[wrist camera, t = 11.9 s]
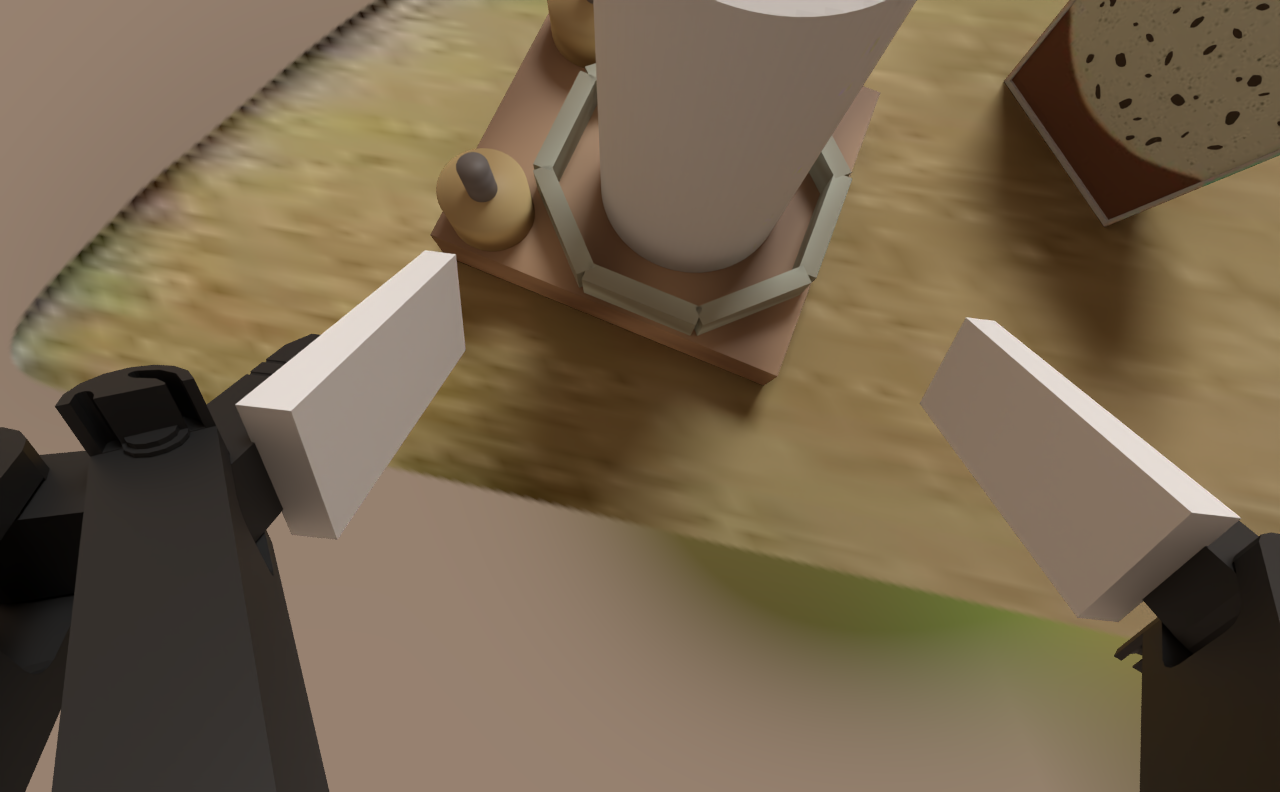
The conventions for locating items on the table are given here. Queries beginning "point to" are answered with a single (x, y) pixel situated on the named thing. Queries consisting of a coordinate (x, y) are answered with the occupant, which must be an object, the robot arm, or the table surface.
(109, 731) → the robot arm
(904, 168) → the table surface
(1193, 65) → the food container
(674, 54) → the tall round pillar
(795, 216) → the gear board
